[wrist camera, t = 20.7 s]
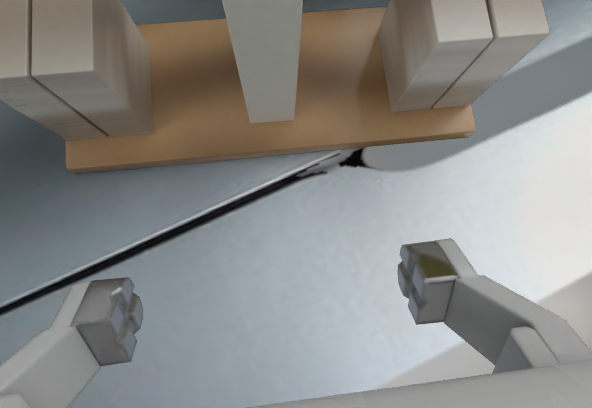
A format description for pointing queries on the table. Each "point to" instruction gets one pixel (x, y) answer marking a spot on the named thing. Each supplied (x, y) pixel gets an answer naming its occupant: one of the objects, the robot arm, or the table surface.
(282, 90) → the tall white book
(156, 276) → the table surface
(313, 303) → the table surface
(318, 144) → the white book rack
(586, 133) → the table surface
